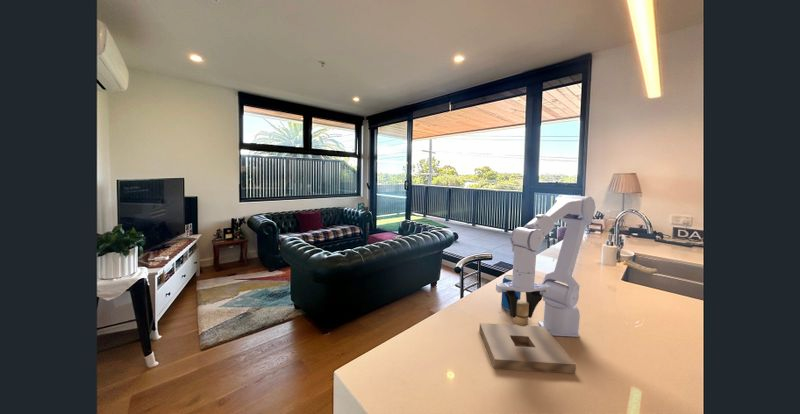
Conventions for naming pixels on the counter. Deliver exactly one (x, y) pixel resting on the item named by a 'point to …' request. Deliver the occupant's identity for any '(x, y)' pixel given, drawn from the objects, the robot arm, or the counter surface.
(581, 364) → the counter surface
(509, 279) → the beverage can
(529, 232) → the robot arm
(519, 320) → the oak peg
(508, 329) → the hole board
